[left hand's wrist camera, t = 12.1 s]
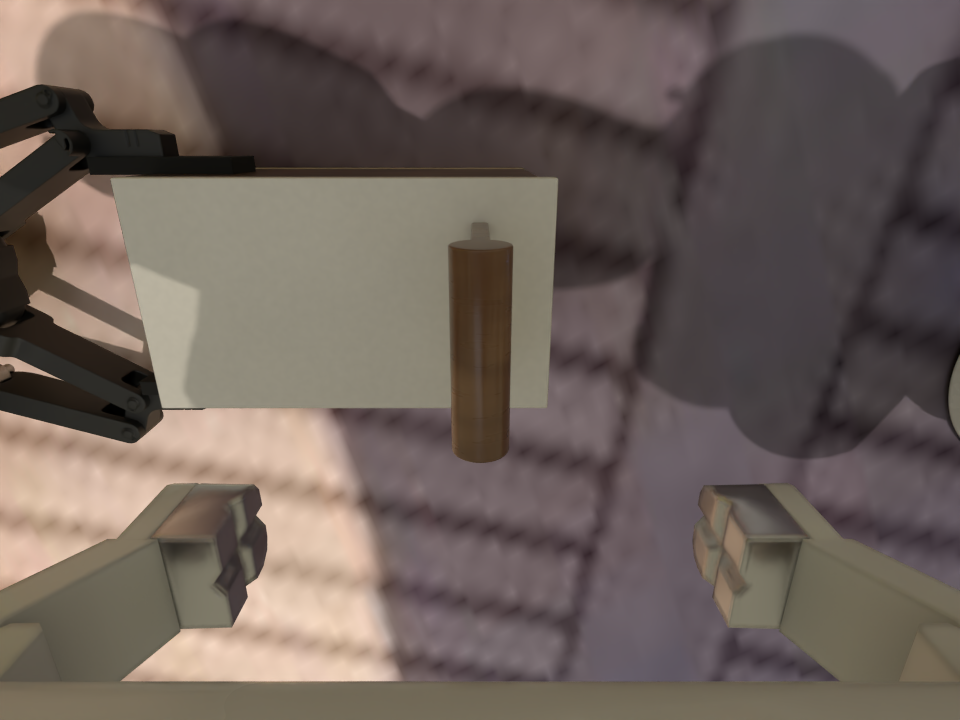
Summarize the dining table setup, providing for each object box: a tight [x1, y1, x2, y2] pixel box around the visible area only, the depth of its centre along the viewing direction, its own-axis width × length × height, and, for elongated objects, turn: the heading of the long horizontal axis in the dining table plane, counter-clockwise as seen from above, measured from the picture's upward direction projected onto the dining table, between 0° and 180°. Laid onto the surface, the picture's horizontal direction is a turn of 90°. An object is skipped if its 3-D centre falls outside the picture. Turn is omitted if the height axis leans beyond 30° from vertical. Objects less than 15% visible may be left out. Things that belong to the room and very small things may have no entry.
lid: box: [110, 177, 558, 463], centre depth 21 cm, size 18×10×8 cm, turn 90°
